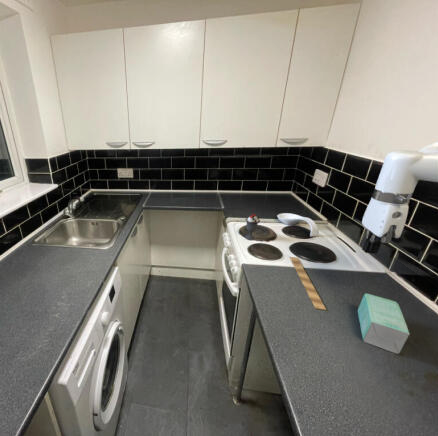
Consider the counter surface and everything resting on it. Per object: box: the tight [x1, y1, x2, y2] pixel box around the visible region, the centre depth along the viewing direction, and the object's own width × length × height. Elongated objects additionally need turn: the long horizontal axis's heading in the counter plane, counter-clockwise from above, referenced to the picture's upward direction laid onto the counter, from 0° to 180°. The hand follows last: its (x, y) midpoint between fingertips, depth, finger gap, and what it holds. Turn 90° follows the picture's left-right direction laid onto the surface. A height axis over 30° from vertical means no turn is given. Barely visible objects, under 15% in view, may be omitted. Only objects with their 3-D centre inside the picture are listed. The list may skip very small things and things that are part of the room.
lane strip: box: [289, 256, 327, 311], centre depth 87 cm, size 30×3×1 cm, turn 164°
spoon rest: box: [276, 212, 320, 238], centre depth 125 cm, size 24×12×7 cm, turn 13°
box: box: [357, 293, 411, 355], centre depth 65 cm, size 7×14×8 cm, turn 145°
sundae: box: [244, 211, 261, 241], centre depth 114 cm, size 7×7×15 cm
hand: (369, 251), depth 72 cm, fingers closed
